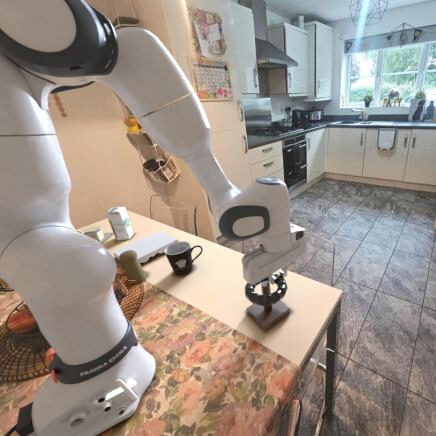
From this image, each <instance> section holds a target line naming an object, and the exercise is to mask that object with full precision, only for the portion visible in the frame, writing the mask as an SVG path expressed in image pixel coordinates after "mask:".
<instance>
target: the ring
mask: <svg viewBox="0 0 436 436" xmlns="http://www.w3.org/2000/svg"><path fill="white" fill-rule="evenodd" d="M273 276H274V277H276V278H277V282H276V283H275V284H274V285H276V286H277V289H276V290H275V291H274V292H271V293H272V294H268V295H262V294H261V293H260V294H259V293H258V292H256V291H255V289H256V288H257V286H258V285H261V283H262V282H264V281H268V282H269V278H268V277H266V278H265V279H263V280H261V281H260V282H258V283H256V284H255V285H251V284H249V283H248V282H246V284H245V286H244V296H245V298H246V299H247V300H248V301H249V303H252V304H256V305H261V306H267V305H272V304H275V303H277V302H278V301H282V299H284V298H285V296H286V294H287V291H288V288H289V287H288V284H287V281H286V279H285V277H284V278H283V277H281V276H280V274H279V273H276V272H274V273H273ZM269 283H270V282H269Z"/></svg>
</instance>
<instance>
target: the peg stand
mask: <svg viewBox="0 0 436 436" xmlns="http://www.w3.org/2000/svg"><path fill="white" fill-rule="evenodd" d="M260 287H261V295H268V294H272V293H273V292H271V283H270V282H268V281H264V282H262V283H260ZM246 312H247V313H248V315H250V317H251V318H253V320H254V321H255V322H256V323H258V325H259V326H261V328H262V329H263V330H264V331H267V330H268V329H270V328H271V327H272V326H274V325H275V324H276V323H277V322H280V321H281V320H282V319H283V318H284V317H286V316H287V315H288V314H289V313H291V308H290V307H289V306H288V305H287V304H285V303H284V302H283V301H282V300H280V301H278V302H277V303H275V304H272V305H267V306H261V305H256V304H253V303H252V304H251V305H250V306H248V307H246Z"/></svg>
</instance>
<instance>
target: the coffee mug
mask: <svg viewBox="0 0 436 436" xmlns="http://www.w3.org/2000/svg"><path fill="white" fill-rule="evenodd" d="M196 248H200V252H199V254H197V255H196V256H195V257H194V258H193V257H192V255H193V254H192V253H193V251H194V249H196ZM203 251H204V248H203V247H202V246H201V245H198V244H197V245H194V246H192V247H191V243H190V242H189V241H185V240H182V241H181V240H180V241H178V242H175V243H172V244H170V245H169V246H167V247H166V248H165V249H164V252H163V253H164V255H165V257H166V259H167V260H168V263H169V265H170V267H171V269H172V271H173V273H174V275H175V276H177V277H185V276H187V275H189V274H190V273H192V272H193V270H194V265H193V263H194V262H195V261H196V260H197V259H198V258H199V257H200V256H201V255H202V253H203Z"/></svg>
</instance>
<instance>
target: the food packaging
mask: <svg viewBox="0 0 436 436" xmlns="http://www.w3.org/2000/svg"><path fill="white" fill-rule="evenodd" d="M175 242H179V239H178V238H176V237H174V236H172V235H171V234H168V233H167V232H165V231H163V230H158V231H156V232H153V233H151V234H149V235H147V236H145V237H142V238H140V239H138V240H135V241H134V242H131V243H129V244H127V245H125V246H122V247H119V248H117V249H115V250H113V251H112V254H113V257H114V258H115V259H117V260H118V261H119V262H121V261H120V260H119V256H120V254H121V253H123V252H125V251H128V250H133V251H135V252H136V253H137V260H138V262H139V263H140V264H142V263H143V264H144V263H147V262H148V261H149V260H150V258H151V257H152V258H153V257H155V256H156V254H163V253H164V249H165V248H166V247H167V246H169V245H170V244H172V243H175Z"/></svg>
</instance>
